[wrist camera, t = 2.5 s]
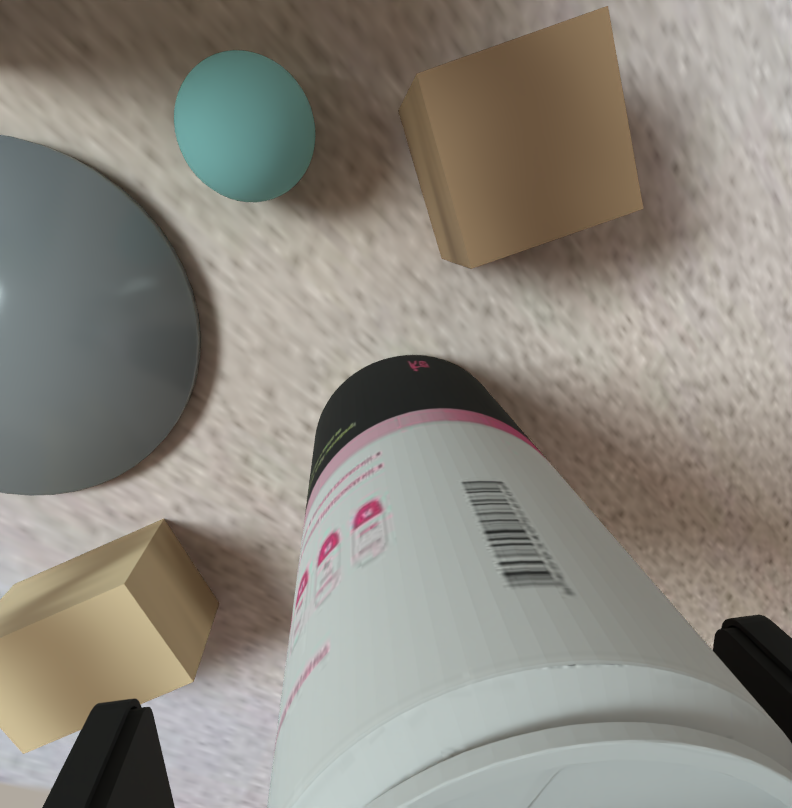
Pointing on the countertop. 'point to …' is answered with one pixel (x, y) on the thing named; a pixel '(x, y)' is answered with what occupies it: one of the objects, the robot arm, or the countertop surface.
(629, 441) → the countertop surface
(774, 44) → the countertop surface
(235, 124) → the teal rubber ball
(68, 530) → the countertop surface
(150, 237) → the grey round disc
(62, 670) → the oak block
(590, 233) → the countertop surface
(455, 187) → the walnut cube
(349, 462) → the beverage can
